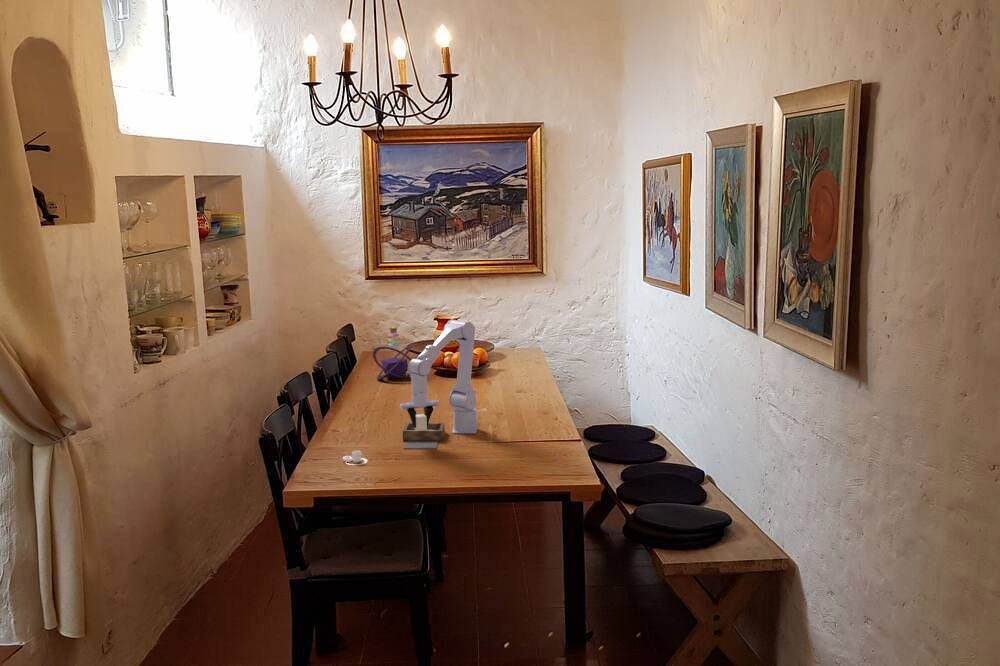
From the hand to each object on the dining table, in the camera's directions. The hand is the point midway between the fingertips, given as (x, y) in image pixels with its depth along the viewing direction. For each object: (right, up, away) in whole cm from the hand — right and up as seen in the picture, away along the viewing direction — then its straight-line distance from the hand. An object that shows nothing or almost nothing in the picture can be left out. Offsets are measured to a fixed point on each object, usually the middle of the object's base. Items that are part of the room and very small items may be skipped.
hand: (420, 426), depth 339 cm
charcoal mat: (0, -7, +1) cm, 7 cm away
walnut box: (0, -5, +12) cm, 13 cm away
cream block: (0, -1, 0) cm, 1 cm away
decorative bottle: (-22, +13, +108) cm, 111 cm away
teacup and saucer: (-22, -11, -13) cm, 28 cm away
